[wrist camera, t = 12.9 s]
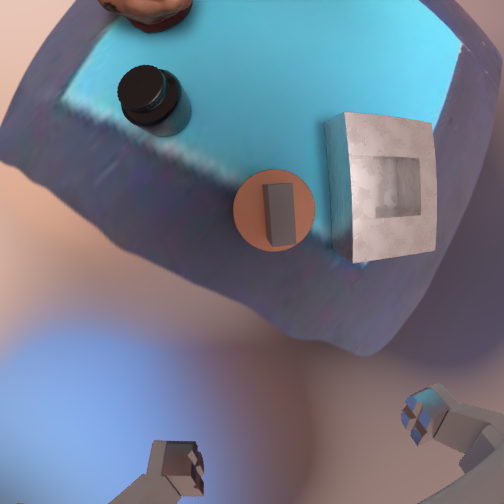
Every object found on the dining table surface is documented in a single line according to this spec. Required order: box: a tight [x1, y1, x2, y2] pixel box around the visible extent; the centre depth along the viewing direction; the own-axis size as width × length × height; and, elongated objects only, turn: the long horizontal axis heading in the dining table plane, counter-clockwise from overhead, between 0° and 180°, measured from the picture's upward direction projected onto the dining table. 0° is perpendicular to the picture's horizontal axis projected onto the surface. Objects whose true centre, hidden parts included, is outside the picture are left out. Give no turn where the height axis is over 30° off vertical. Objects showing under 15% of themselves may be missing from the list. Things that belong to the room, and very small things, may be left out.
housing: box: [324, 112, 437, 263], centre depth 33 cm, size 18×14×7 cm
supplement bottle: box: [117, 65, 191, 137], centre depth 26 cm, size 7×7×12 cm
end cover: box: [233, 169, 315, 251], centre depth 31 cm, size 9×9×10 cm
